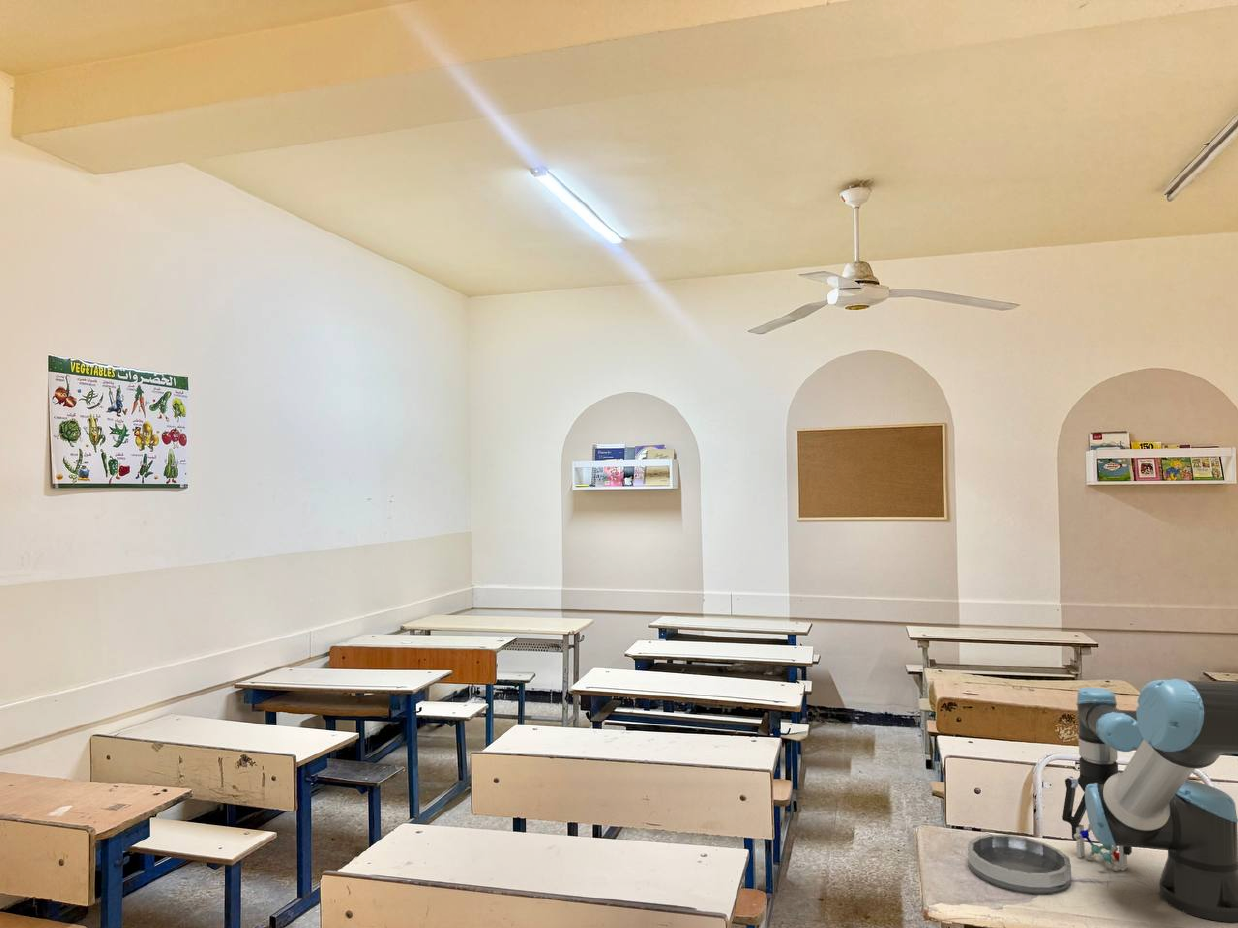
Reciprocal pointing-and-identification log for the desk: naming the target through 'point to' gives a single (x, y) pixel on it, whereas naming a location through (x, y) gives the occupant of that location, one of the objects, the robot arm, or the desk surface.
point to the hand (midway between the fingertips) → (1101, 861)
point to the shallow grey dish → (1019, 864)
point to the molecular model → (1099, 849)
